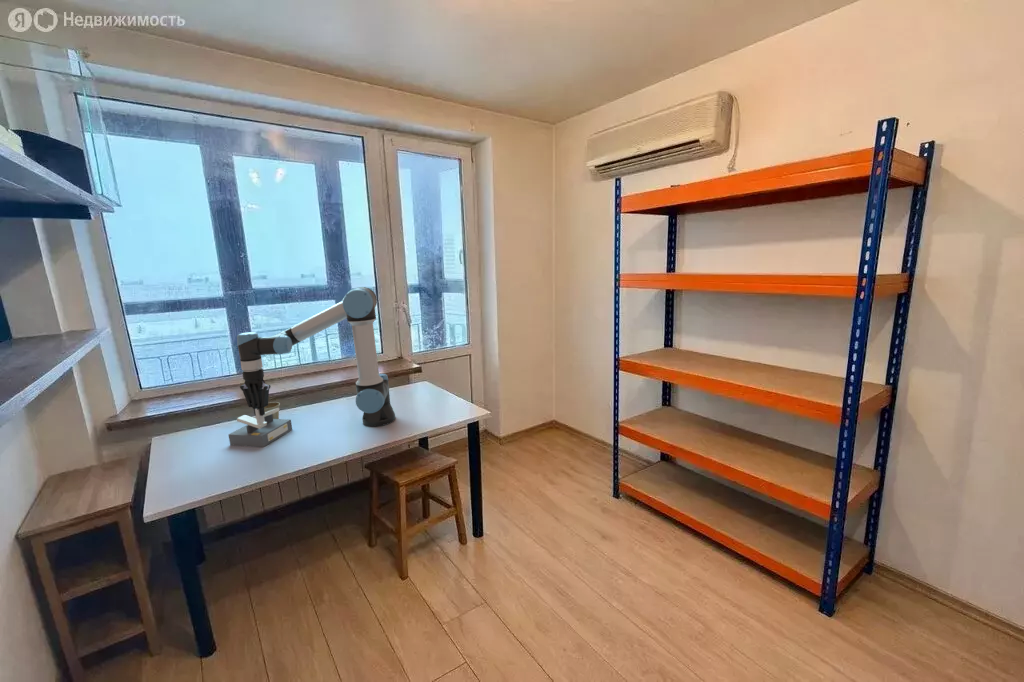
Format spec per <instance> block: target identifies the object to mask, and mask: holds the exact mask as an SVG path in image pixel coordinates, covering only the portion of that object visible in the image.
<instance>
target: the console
mask: <svg viewBox="0 0 1024 682" xmlns="http://www.w3.org/2000/svg"><path fill="white" fill-rule="evenodd" d="M264 419H265V422H267V425H266V426H264V427H262V428H260V429H259V428H256V427H253V426H250V425H247V424H245V425H244V426H243V427H241V428H238V429H236V430H234V431H233V432H230V433H228V439H229V440H228V441H229V445H230V446H234V447H235V446H236V447H237V446H238V447H255V448H264V447H266V446H268V445H269V444H271V443H272V442H274V441H276V440H278V439H279V438H281V437H282V436H284V435H287V433H290V432H291V431H293V426H292V419H286V418H285V419H284V418H281V419H280V418H279V419H273V415H272V414H271V415H268V416H265V417H264Z"/></svg>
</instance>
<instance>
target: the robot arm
mask: <svg viewBox="0 0 1024 682" xmlns="http://www.w3.org/2000/svg"><path fill="white" fill-rule="evenodd" d="M377 303H378V297H377V293H375V292H374V290H372V289H371V288H369V287H366V286H361V287H356V288H353V289H350V290H348V291H347V293H345V295H344V297H343V298H342V299H341V301H339V302H338V303H336V304H334V305H332V306H330V307H328V308H326V309H324V310H322V311H320V312H318V313H316V314H314V315H312V316H310V317H308V318H306V319H304V320H302V321H300V322H299V323H297V324H295V325H292V326H291V327H289V328H287V329H285V330H282V331H280V332H279V333H277V334H274V335H271V336H259V334H258V332H256V331H249V332H242V333H239V334H237V337H236V339H237V341H236V343H237V344H236V346H237V349H238V354H239V355H238V356H239V361H240V367H241V370H242V371H241V374H242V379H243V380H244V384H242V385H240V386H239V388H240V390H241V391H242V393H243V396H244V398H245V400H246V401H245V402H246V403H247V406H248V407H249V408H252V409H253V413H254V416H256V420H257V424H260V423H262V422H264V421H265V419H264V415H265V412H264V407H265V406H268V403H269V396H270V389H271V388H272V387H271V384H267V383H266V382H265V379H264V378H265V372H264V368H263V361H262V356H267V355H283V354H290V352H291V351H292V349H293V346H296V345H297V344H299V343H301V342H303V341H305V340H306V339H309V338H311V337H312V336H315V335H317V334H319V333H321V332H322V331H325V330H326V329H328V328H330V327H332V326H334V325H336V324H339V323H340V322H342V321H345V320H347V323H349V324H350V325H351V329H352V336H353V345H354V353H355V359H356V360H355V361H356V368H357V376H358V379H357V380H356V381H355V389H356V396H355V406H356V407H357V408H358V410H360V411H361V412H362V413H363V414H362V424H363V425H364V426H365V427H382V426H385V425H386V426H387V425H388V424H391V423H394V421H395V420H396V413H395V411H394V408H393V407H392V404H391V398H390V396H391V395H390V386H389V380H390V379H389V378H388V374H386V373H380V371H379V365H378V363H379V362H378V356H377V355H378V354H377V347H376V339H375V338H376V337H375V329H374V322H375V321H376V320H377V314H376V306H377V305H378V304H377Z"/></svg>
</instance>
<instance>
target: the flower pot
mask: <svg viewBox="0 0 1024 682" xmlns="http://www.w3.org/2000/svg"><path fill="white" fill-rule="evenodd" d="M280 405H281V403H280V402H278V401H272V402H271V401H270V402H268V406H265V407H264V412H267V411H270V410H273V409H276V408H279V409H280ZM272 415H273V419H280V411H278V412H276V413H274V414H272Z"/></svg>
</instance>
